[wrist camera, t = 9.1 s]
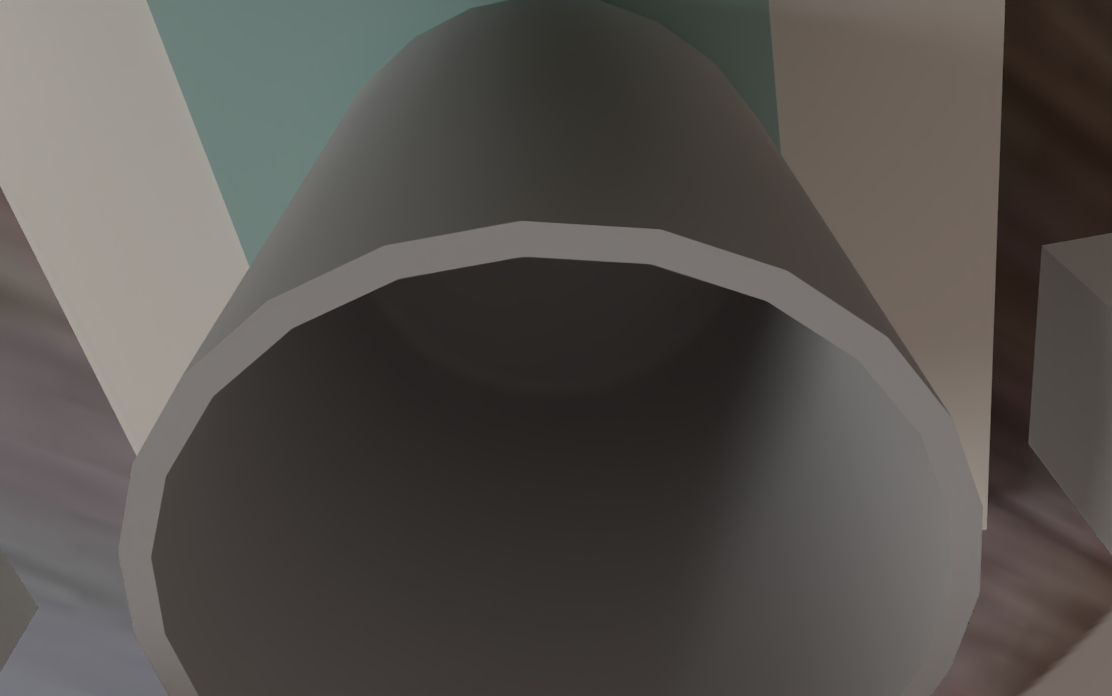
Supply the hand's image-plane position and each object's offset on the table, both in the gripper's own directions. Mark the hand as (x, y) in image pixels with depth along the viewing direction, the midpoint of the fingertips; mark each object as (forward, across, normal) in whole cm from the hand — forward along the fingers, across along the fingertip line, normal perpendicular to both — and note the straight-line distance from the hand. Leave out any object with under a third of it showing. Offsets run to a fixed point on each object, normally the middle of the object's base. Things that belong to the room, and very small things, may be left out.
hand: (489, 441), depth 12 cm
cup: (+6, 0, 0) cm, 6 cm away
